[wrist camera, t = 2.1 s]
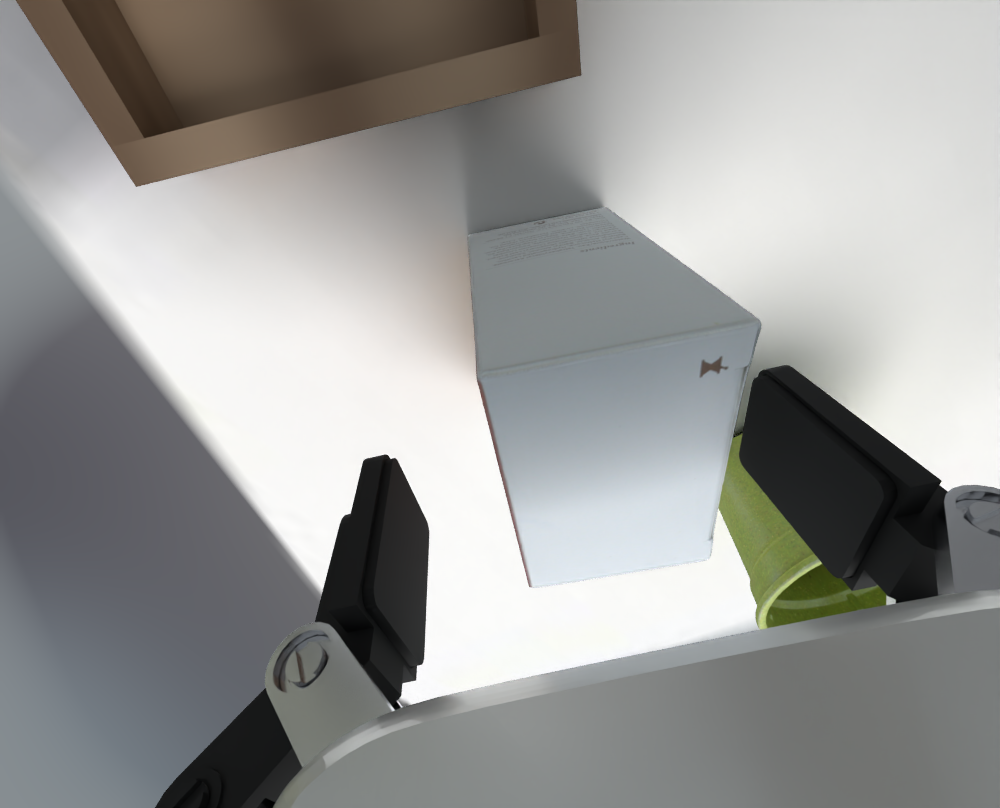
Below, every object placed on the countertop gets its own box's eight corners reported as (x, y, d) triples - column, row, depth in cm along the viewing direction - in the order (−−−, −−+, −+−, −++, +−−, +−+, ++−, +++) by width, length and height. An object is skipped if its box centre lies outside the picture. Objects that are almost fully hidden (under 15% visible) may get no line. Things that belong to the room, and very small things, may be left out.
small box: (465, 230, 16) (469, 369, 8) (608, 202, 16) (773, 313, 8) (500, 396, 21) (526, 596, 12) (611, 376, 21) (714, 565, 12)
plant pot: (871, 389, 22) (1058, 519, 15) (796, 507, 28) (909, 642, 21) (703, 394, 22) (818, 532, 15) (660, 513, 27) (729, 655, 20)
